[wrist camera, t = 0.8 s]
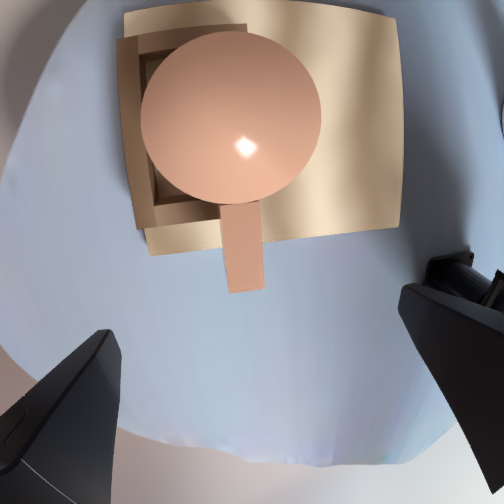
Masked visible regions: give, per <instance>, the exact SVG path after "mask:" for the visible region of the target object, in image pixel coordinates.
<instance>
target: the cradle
mask: <svg viewBox="0 0 504 504" xmlns="http://www.w3.org/2000/svg"><path fill="white" fill-rule="evenodd" d="M225 31H240V32H247V33H253V34H257V35H260V36H263V37H266V38H268V39H271V40H273V41H275V42H277V43H278V44H280V45H282V46H283V47H285V48H286V49H287V50H289V51H290V52H291V53H293V54H294V55H295V56H296V57H297V58H298V59H299V60H300V61H301V63H302V64H303V65H304V67H305V68H306V69H307V71H308V72H309V74H310V76H311V77H312V79H313V81H314V84H315V86H316V89H317V91H318V95H319V99H320V104H321V129H320V135H319V138H318V142H317V145H316V147H315V150H314V152H313V154H312V156H311V158H310V160H309V161H308V163H307V165H306V166H305V167H304V168H303V170H302V171H301V172H300V173H299V174H298V175H297V176H296V177H295V178H294V179H293V180H292V181H291V182H290V183H289V184H287V185H286V186H285V187H283V188H282V189H280V190H279V191H277V192H275V193H274V194H271V195H269V196H267V197H265V198H262V199H259V201H260V211H261V228H262V243H263V242H272V241H280V240H289V239H297V238H306V237H315V236H323V235H332V234H341V233H350V232H358V231H367V230H376V229H385V228H394V227H399V219H400V209H401V196H402V180H403V156H404V112H403V88H402V73H401V61H400V51H399V42H398V34H397V27H396V20H395V19H394V18H391V17H387V16H383V15H379V14H374V13H370V12H366V11H361V10H356V9H351V8H345V7H339V6H333V5H326V4H318V3H310V2H300V1H288V0H209V1H197V2H187V3H179V4H171V5H164V6H158V7H152V8H147V9H141V10H136V11H132V12H127V13H124V38H121V39H117V72H118V90H119V104H120V116H121V126H122V136H123V144H124V152H125V160H126V167H127V174H128V181H129V187H130V194H131V200H132V205H133V211H134V217H135V222H136V227H137V230H139V229H144V231H145V236H146V241H147V246H148V251H149V256H157V255H165V254H173V253H181V252H189V251H197V250H206V249H214V248H222V242H221V233H220V224H219V214H218V204H217V203H213V202H208V201H204V200H201V199H198V198H195V197H193V196H191V195H189V194H187V193H185V192H183V191H181V190H180V189H178V188H177V187H175V186H174V185H173V184H172V183H170V182H169V181H168V180H167V179H166V178H165V177H164V176H163V175H162V174H161V173H160V171H159V170H158V169H157V168H156V166H155V165H154V163H153V162H152V160H151V158H150V156H149V154H148V152H147V150H146V147H145V144H144V141H143V137H142V131H141V106H142V101H143V97H144V93H145V90H146V88H147V86H148V83H149V81H150V79H151V78H152V76H153V74H154V72H155V71H156V70H157V68H158V67H159V66H160V64H161V63H162V62H163V61H164V60H165V59H166V58H167V57H168V56H169V55H170V54H171V53H172V52H174V51H175V50H176V49H178V48H179V47H180V46H182V45H184V44H186V43H187V42H189V41H191V40H193V39H196V38H198V37H201V36H204V35H208V34H212V33H216V32H225Z"/></svg>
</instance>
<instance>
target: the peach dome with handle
mask: <svg viewBox="0 0 504 504" xmlns="http://www.w3.org/2000/svg"><path fill="white" fill-rule="evenodd" d="M320 129H321V104H320V99H319V95H318V91H317V89H316V86H315V84H314V81H313V79H312V77H311V76H310V74H309V72H308V71H307V69H306V68H305V67H304V65H303V64H302V63H301V61H300V60H299V59H298V58H297V57H296V56H295V55H294V54H293V53H291V52H290V51H289V50H287V49H286V48H285V47H283V46H282V45H280V44H278V43H277V42H275V41H273V40H271V39H268V38H266V37H263V36H260V35H257V34H253V33H247V32H240V31H225V32H216V33H212V34H208V35H204V36H201V37H198V38H196V39H193V40H191V41H189V42H187V43H186V44H184V45H182V46H180V47H179V48H178V49H176V50H175V51H174V52H172V53H171V54H170V55H169V56H168V57H167V58H166V59H165V60H164V61H163V62H162V63H161V64H160V66H159V67H158V68H157V70H156V71H155V72H154V74H153V76H152V78H151V79H150V81H149V83H148V86H147V88H146V90H145V93H144V97H143V101H142V106H141V131H142V137H143V141H144V144H145V147H146V150H147V152H148V154H149V156H150V158H151V160H152V162H153V163H154V165H155V166H156V168H157V169H158V170H159V171H160V173H161V174H162V175H163V176H164V177H165V178H166V179H167V180H168V181H169V182H170V183H172V184H173V185H174V186H175V187H177V188H178V189H180V190H181V191H183V192H185V193H187V194H189V195H191V196H193V197H195V198H198V199H201V200H204V201H208V202H213V203H217V204H218V214H219V224H220V233H221V242H222V251H223V260H224V266H225V272H226V277H227V283H228V288H229V293H236V292H243V291H251V290H258V289H265V283H264V264H263V246H262V228H261V211H260V201H259V199H262V198H265V197H267V196H269V195H271V194H274V193H275V192H277V191H279V190H280V189H282V188H283V187H285V186H286V185H287V184H289V183H290V182H291V181H292V180H293V179H294V178H295V177H296V176H297V175H298V174H299V173H300V172H301V171H302V170H303V168H304V167H305V166H306V165H307V163H308V161H309V160H310V158H311V156H312V154H313V152H314V150H315V147H316V145H317V142H318V138H319V135H320Z"/></svg>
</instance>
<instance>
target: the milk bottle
mask: <svg viewBox="0 0 504 504" xmlns="http://www.w3.org/2000/svg"><path fill="white" fill-rule="evenodd" d="M502 125H503V133H504V105H503V111H502Z"/></svg>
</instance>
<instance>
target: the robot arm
mask: <svg viewBox="0 0 504 504" xmlns="http://www.w3.org/2000/svg"><path fill="white" fill-rule="evenodd" d="M473 259H474V253H473V252H471V251H467V252H462V253H457V254H452V255H447V256H442V257H437V258H433V259H431V260H430V261H429V264H428V269H427V274H426V278H425V283H424V286H422V285H419V284H416V283H411V284H406V285H404V286H403V287H402V289H401V294H400V299H399V304H398V311H399V314H400V316H401V318H402V320H403V322H404V324H405V326H406V328H407V330H408V332H409V334H410V337H411V339H412V341H413V343H414V345H415V347H416V349H417V350H418V352H419V354H420V356H421V357H422V359H423V360H424V362H425V364H426V365H427V367H428V369H429V371H430V372H431V374H432V376H433V377H434V379H435V381H436V383H437V384H438V386H439V388H440V390H441V391H442V393H443V395H444V397H445V399H446V400H447V402H448V404H449V406H450V408H451V410H452V411H453V413H454V415H455V417H456V419H457V421H458V423H459V424H460V426H461V428H462V430H463V432H464V434H465V436H466V438H467V440H468V443H469V444H470V447H471V449H472V451H473V453H474V455H475V457H476V459H477V462H478V464H479V466H480V468H481V470H482V473H483V475H484V477H485V480H486V482H487V484H488V486H489V489H490V491H491V493H492V494H494V493H496V492H497V491H498V490H499V489H500V488H502V487H503V486H504V273H503V272H501V271H499V270H498V269H497V271H496V273H495V277H494V279H493V281H492V282H491V281H490V280H488V279H487V278H486V277H484V276H483V275H482V274H480V273H479V272H477V271H476V270H474V269H473V268H472V263H473ZM121 359H122V356H121V351H120V348H119V346H118V343H117V341H116V338H115V336H114V333H113V332H112V330H110V329H104V330H98V331H96V332H95V333H94V334H93V335H92V336H91V337H89V338H88V339H87V340H86V341H85V342H84V343H82V344H81V345H80V346H79V347H78V348H77V349H75V350H74V351H73V352H72V353H71V354H70V355H69V356H67V357H66V358H65V359H64V360H63V361H62V362H61V363H59V364H58V365H57V366H56V367H55V368H54V369H53V370H51V371H50V372H49V373H48V374H47V375H46V376H45V377H44V378H42V379H41V380H40V381H39V382H38V383H37V384H36V385H35V386H34V387H33V388H31V389H30V390H29V391H28V392H27V393H26V394H25V396H23V397H21V398H20V399H19V400H18V401H17V402H16V403H15V404H14V405H13V406H12V407H10V408H9V409H8V410H7V411H6V412H5V413H4V414H2V415H1V416H0V504H110V503H111V482H112V467H113V466H112V465H113V454H114V445H115V435H116V426H117V418H118V411H119V402H120V380H121Z"/></svg>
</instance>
